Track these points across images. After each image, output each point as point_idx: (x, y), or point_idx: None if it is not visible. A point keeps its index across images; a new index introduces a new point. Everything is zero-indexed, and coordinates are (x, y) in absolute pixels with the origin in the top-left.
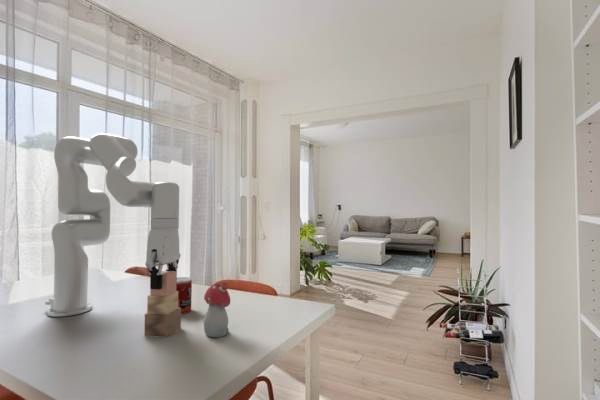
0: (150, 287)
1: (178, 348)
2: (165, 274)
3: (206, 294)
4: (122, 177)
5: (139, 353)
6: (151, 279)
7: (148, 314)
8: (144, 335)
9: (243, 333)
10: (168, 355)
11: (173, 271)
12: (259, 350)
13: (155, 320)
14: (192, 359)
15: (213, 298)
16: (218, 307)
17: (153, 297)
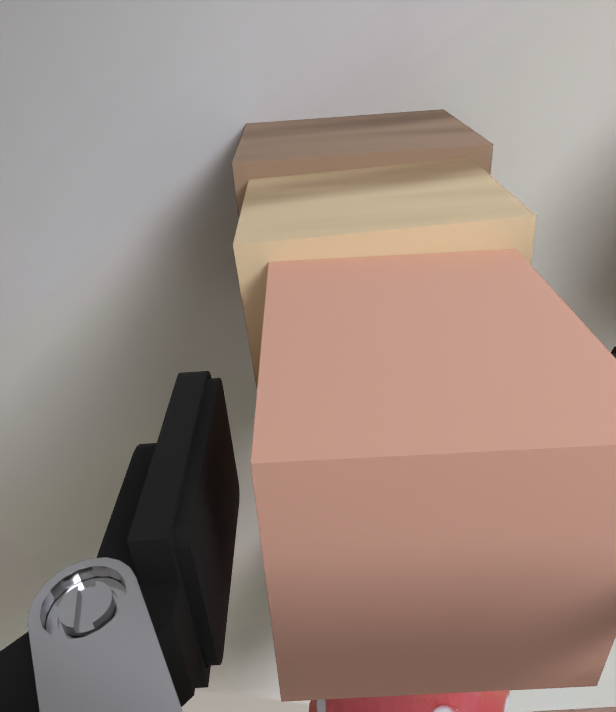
0: (178, 381)
1: (151, 434)
2: (296, 677)
3: (362, 707)
4: None
5: (13, 288)
6: (152, 484)
7: (238, 202)
8: (246, 125)
9: None
10: (67, 433)
11: (588, 655)
12: (243, 676)
13: None
14: (81, 532)
15: None
16: None
17: (247, 315)
